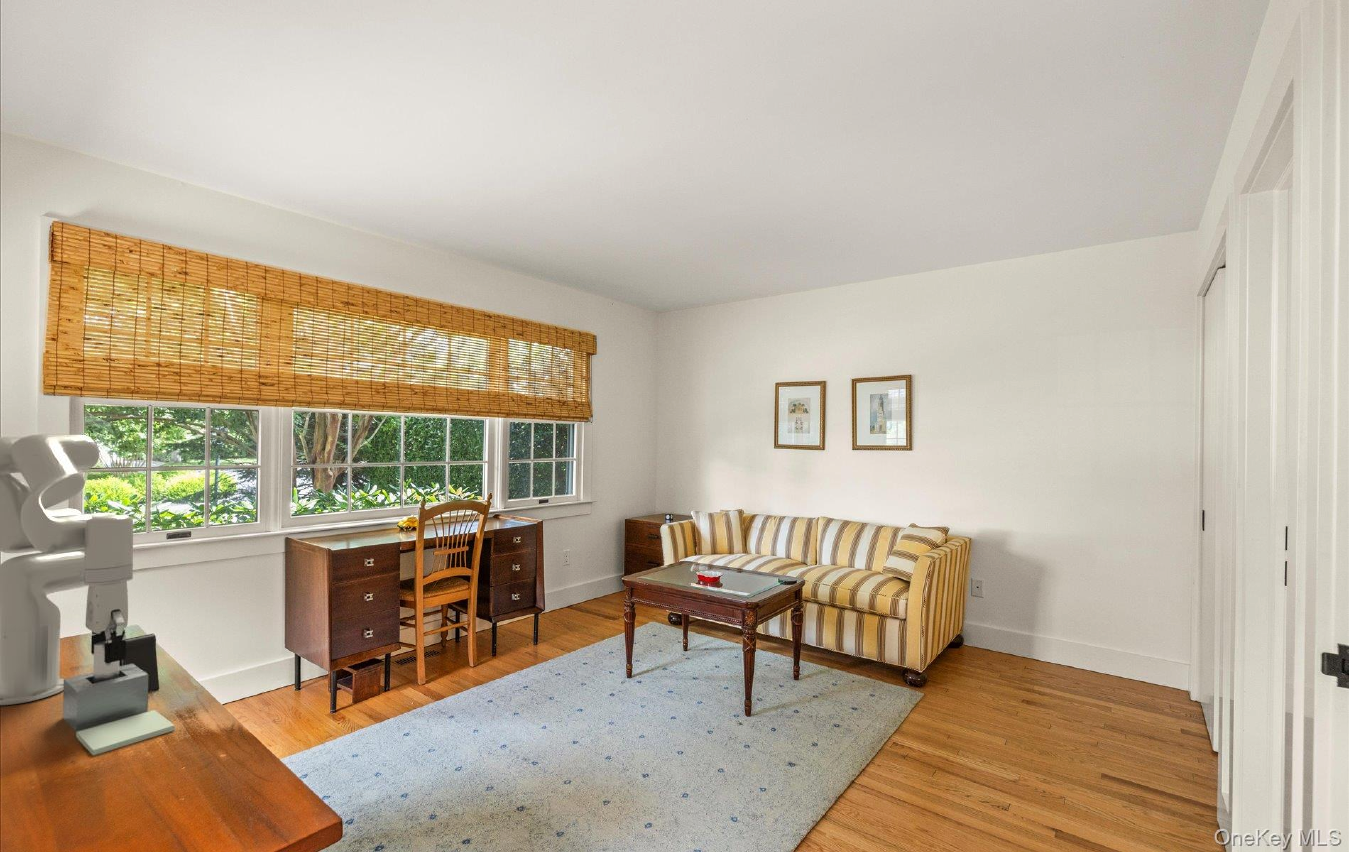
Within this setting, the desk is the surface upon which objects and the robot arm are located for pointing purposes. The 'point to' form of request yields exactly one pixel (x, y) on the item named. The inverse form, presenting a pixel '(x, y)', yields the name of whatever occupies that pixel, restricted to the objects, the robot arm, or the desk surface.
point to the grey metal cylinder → (103, 665)
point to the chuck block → (104, 698)
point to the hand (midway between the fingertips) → (108, 656)
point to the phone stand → (143, 657)
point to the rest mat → (124, 732)
